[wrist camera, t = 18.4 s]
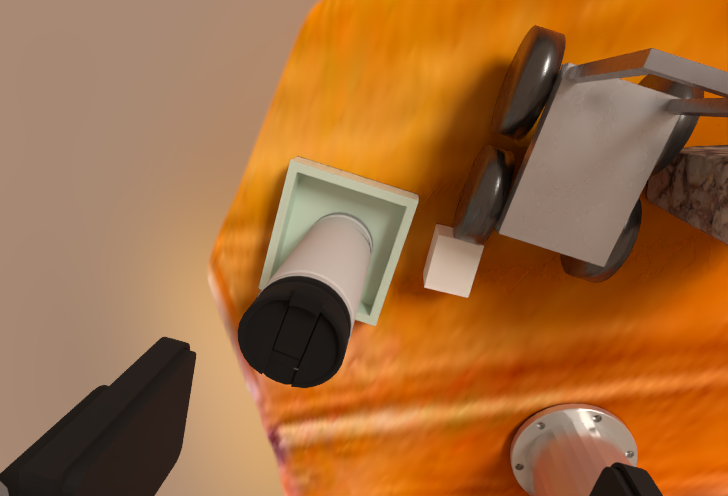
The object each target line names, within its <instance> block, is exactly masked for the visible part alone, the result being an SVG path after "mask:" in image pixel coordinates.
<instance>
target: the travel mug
mask: <svg viewBox="0 0 728 496" xmlns="http://www.w3.org/2000/svg"><path fill="white" fill-rule="evenodd" d="M372 252H373V239H372V236H371V233H370V231H369V229H368V227H367V226H366V225H365V224H364V222H362V221H361V220H360V219H359V218H357V217H355V216H353V215H351V214H348V213H341V212H337V213H331V214H327V215H325V216H323V217H321V218H320V219H319V220H318V221H316V223H315V224H314V225H313V226H312V228H311V229H310V230H309V231H308V233H307V234H306V235H305V236H304V238H303V239H302V240H301V241H300V243H299V244H298V245H297V246H296V248H295V249H294V250H293V251H292V253H291V254H290V255H289V256H288V258H287V259H286V260H285V262H284V263H283V264H282V265H281V267H280V268H279V269H278V270H277V272H276V273H275V274H274V275H273V277H272V278H271V279H270V280H269V282H268V283H267V284H266V285H265V287H264V288H263V289H262V290H261V292H260V293H259V294H258V296H257V298H256V299H255V301H254V302H253V303H252V304H251V306H250V307H249V308H248V310H247V311H246V312H245V313H244V315H243V317H242V319H241V321H240V323H239V328H238V342H239V345H240V349H241V351H242V353H243V356H244V358H245V359H246V360H247V362H248V363H249V365H250V366H251V367H253V368H254V369H255V370H256V371H258V372H259V373H260V374H262V373H264V374H265V375H266V376H267V377H268V378H270V379H272V380H274V381H276V382H280V383H283V384H292V385H291V387H300V388H308V387H314V386H317V385H320V384H322V383H324V382H326V381H327V380H329V379H331V378H332V377H333V376H334V375H335V374H336V373H337V371H338V370H339V368H340V367H341V365H342V362H343V359H344V356H345V352H346V349H347V345H348V342H349V339H350V336H351V333H352V329H353V325H354V321H355V318H356V314H357V310H358V306H359V302H360V298H361V294H362V290H363V287H364V283H365V279H366V275H367V271H368V267H369V263H370V259H371V256H372Z"/></svg>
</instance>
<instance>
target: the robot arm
mask: <svg viewBox="0 0 728 496" xmlns="http://www.w3.org/2000/svg"><path fill="white" fill-rule="evenodd" d="M195 360H196V353H195V352H193V351H190V345H189V344H188V343H186V342H182V341H179V340H175V339H172V338H167V337H162V338H161V339H159V340H158V341H157V342H156V343H155V344H154V345H153V346H152V347H151V348H150V349H149V350H148V351H147V352H146V353H144V354H143V355H142V356H141V357H140V358H139V359H138V360H137V361H136V362H135V363H134V364H133V365H131V366H130V367H129V368H128V369H127V370H126V371H125V372H124V373H123V374H122V375H121V376H120V377H119V378H117V379H116V380H115V381H114V383H112V384H111V385H110V386H106V385H102V386H99V387H98V388H96V389H95V390H93V391H92V392H91V393H90V394H89V395H88V396H87V397H85V398H84V399H83V400H82V401H81V402H80V403H79V404H78V405H76V406H75V407H74V408H73V409H72V410H71V411H70V412H69V413H68V414H66V415H65V416H64V417H63V418H62V419H61V420H60V421H59V422H57V423H56V424H55V425H54V426H53V427H52V428H51V429H50V430H48V431H47V432H46V433H45V434H44V435H43V436H42V437H41V438H40V439H39V440H37V441H36V442H35V443H34V444H33V445H32V446H31V447H29V448H28V449H27V450H26V451H25V452H24V453H23V454H22V455H21V456H19V457H18V458H17V459H16V460H15V461H14V462H13V463H12V464H10V465H9V466H8V467H7V468H6V469H5V470H4V471H3V472H2V473H0V496H154V495H155V494H156V492H157V491H158V489H159V488H160V486H161V485H162V483H163V482H164V480H165V479H166V477H167V476H168V474H169V473H170V471H171V470H172V468H173V467H174V465H175V463H176V462H177V460H178V457H179V455H180V452H181V448H182V444H183V437H184V431H185V425H186V418H187V412H188V406H189V399H190V393H191V386H192V379H193V374H194V367H195ZM637 461H638V451H637V447H636V443H635V440H634V438H633V437H632V435H631V433H630V431H629V430H628V429H627V427H626V426H625V425H624V423H623V422H622V421H621V420H619V419H618V418H617V417H616V416H615V415H613V414H611V413H610V412H608V411H606V410H604V409H601V408H599V407H596V406H592V405H587V404H571V403H570V404H563V405H557V406H554V407H550V408H547V409H545V410H543V411H541V412H539V413H536V414H535V415H534V416H532V417H531V418H529V419H528V420H527V421H526V422H525V423H524V424H523V425H522V426H521V427H520V428H519V430H518V431H517V433H516V434H515V436H514V438H513V441H512V444H511V448H510V462H511V466H512V470H513V474H514V476H515V478H516V480H517V482H518V483H519V484H520V486H521V487H522V488H523V489H524V490H525V491H526V492H527V493H528V494H529V495H531V496H663V495H662V493H661V492H660V490H659V489H658V487H657V486H656V484H655V483H654V481H653V479H652V478H651V476H650V475H649V474H648V472H647V471H646V470H644V469H641V468H637V467H636V465H637Z"/></svg>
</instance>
